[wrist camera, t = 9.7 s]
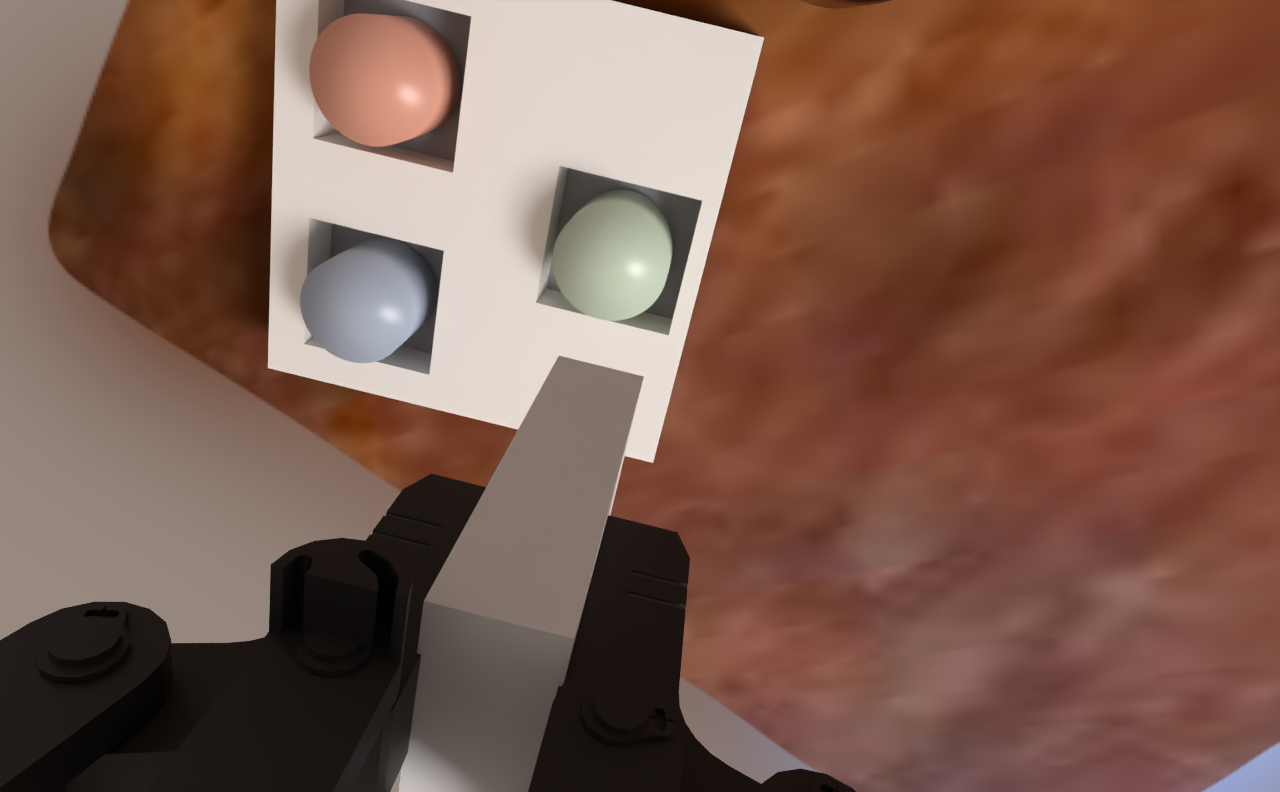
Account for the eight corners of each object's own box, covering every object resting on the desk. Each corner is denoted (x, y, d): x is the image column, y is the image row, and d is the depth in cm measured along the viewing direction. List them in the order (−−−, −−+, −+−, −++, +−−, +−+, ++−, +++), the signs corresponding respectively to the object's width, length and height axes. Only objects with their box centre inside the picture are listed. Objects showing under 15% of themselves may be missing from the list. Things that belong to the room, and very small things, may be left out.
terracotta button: (355, 3, 35) (312, -1, 31) (467, 31, 35) (436, 30, 31) (348, 121, 37) (306, 130, 33) (453, 147, 37) (423, 159, 33)
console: (317, -71, 35) (278, -81, 32) (761, 37, 35) (764, 37, 32) (301, 344, 44) (268, 367, 40) (658, 432, 43) (652, 462, 40)
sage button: (579, 178, 37) (563, 193, 33) (685, 204, 37) (680, 222, 33) (561, 280, 39) (543, 305, 35) (660, 304, 39) (653, 332, 35)
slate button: (342, 226, 39) (302, 246, 35) (441, 251, 39) (411, 273, 35) (336, 321, 41) (297, 348, 38) (430, 344, 41) (401, 374, 37)
